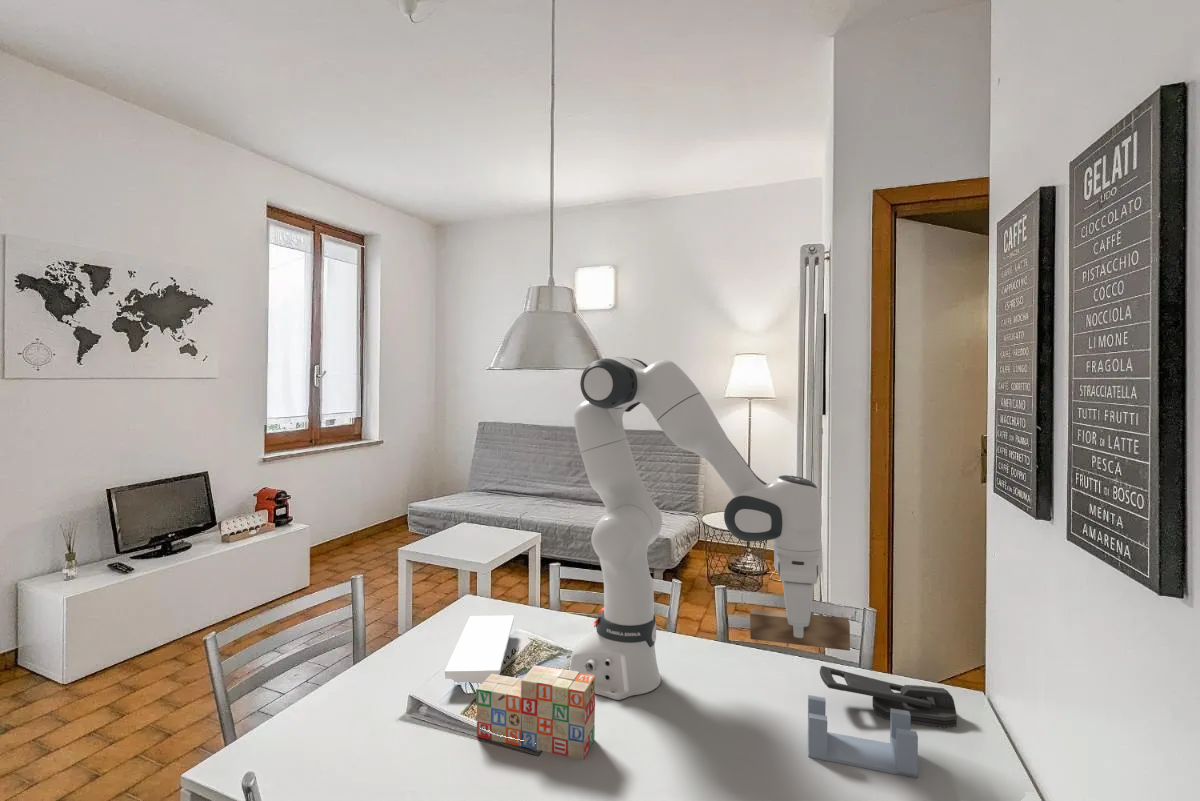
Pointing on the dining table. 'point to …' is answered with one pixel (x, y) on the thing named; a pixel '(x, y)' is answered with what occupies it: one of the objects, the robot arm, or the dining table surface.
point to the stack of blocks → (540, 710)
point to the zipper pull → (899, 698)
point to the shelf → (480, 649)
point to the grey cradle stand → (864, 743)
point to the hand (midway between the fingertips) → (798, 631)
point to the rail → (816, 634)
